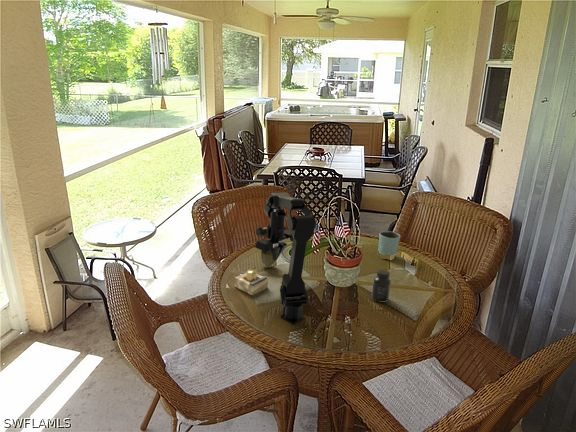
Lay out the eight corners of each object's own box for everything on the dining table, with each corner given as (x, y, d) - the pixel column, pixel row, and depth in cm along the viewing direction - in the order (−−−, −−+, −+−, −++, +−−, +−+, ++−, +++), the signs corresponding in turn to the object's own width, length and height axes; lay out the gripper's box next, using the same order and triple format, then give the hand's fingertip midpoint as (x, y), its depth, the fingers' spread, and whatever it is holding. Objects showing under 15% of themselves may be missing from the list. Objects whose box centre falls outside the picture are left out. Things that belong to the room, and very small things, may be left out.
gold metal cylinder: (258, 287, 171) (258, 271, 169) (251, 290, 168) (251, 274, 166) (251, 283, 173) (251, 268, 171) (244, 287, 170) (244, 271, 168)
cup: (274, 271, 185) (275, 255, 183) (258, 269, 187) (258, 252, 184) (277, 264, 192) (278, 248, 190) (262, 262, 194) (263, 246, 191)
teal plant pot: (376, 259, 206) (379, 236, 202) (375, 251, 215) (379, 229, 211) (397, 262, 205) (401, 239, 201) (395, 253, 214) (399, 232, 210)
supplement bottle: (391, 299, 169) (395, 272, 165) (382, 305, 164) (386, 277, 161) (376, 292, 174) (380, 266, 170) (367, 298, 169) (371, 271, 165)
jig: (267, 287, 171) (268, 277, 170) (252, 295, 164) (252, 284, 163) (250, 279, 177) (250, 269, 175) (234, 286, 170) (234, 275, 169)
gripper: (277, 213, 175) (275, 247, 180) (245, 223, 161) (244, 260, 166) (298, 220, 169) (295, 256, 174) (267, 231, 155) (265, 269, 160)
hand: (275, 260), depth 169 cm, fingers closed
